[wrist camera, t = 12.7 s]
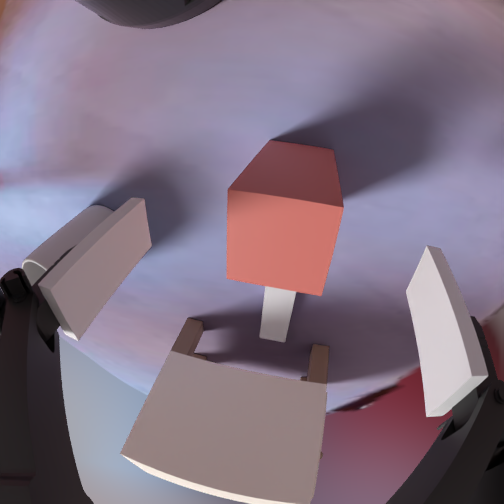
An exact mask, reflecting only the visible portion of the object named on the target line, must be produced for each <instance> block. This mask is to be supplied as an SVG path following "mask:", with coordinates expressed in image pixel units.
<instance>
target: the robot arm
mask: <svg viewBox="0 0 504 504" xmlns="http://www.w3.org/2000/svg"><path fill="white" fill-rule="evenodd" d="M75 1H77V2H78V3H80V4H82V5H83V6H85V7H86V8H88V9H90V10H91V11H93V12H95V13H96V14H98V15H99V16H100V17H101V18H102V19H104V20H106V21H108V22H110V23H113V24H116V25H120V26H126V27H133V28H141V29H153V28H161V27H166V26H170V25H174V24H177V23H180V22H183V21H186V20H188V19H190V18H193V17H195V16H197V15H199V14H201V13H202V12H204V11H206V10H208V9H209V8H211V7H212V6H214V5H215V4H217V3H218V2H219V1H221V0H75ZM151 246H152V244H151V238H150V232H149V226H148V220H147V213H146V207H145V200H144V199H142V198H133V197H131V198H130V199H129V200H128V201H127V202H125V203H124V204H123V205H122V206H120V207H119V208H118V209H117V210H116V211H114V212H113V213H112V214H111V215H110V216H109V217H107V218H106V219H105V220H104V221H103V222H102V223H101V224H99V225H98V226H97V227H96V228H95V229H94V230H93V231H92V232H90V233H89V234H88V235H87V236H86V237H85V238H84V239H83V240H82V241H81V242H80V243H79V244H77V245H76V246H74V247H72V248H70V249H69V250H67V251H66V252H65V253H64V254H63V255H62V256H61V257H60V259H58V260H57V261H56V262H55V263H54V265H52V266H51V267H50V268H49V269H48V270H47V271H46V272H45V273H44V274H43V275H42V276H41V277H40V278H39V279H38V280H37V281H36V282H35V283H34V285H33V286H31V284H30V282H29V280H28V278H27V276H26V273H25V271H24V270H23V269H21V268H15V269H12V270H10V271H8V272H7V273H6V274H4V276H3V277H2V278H1V279H0V287H1V288H0V504H94V503H93V502H92V501H91V499H90V498H89V497H88V496H87V495H86V493H85V492H84V490H83V487H82V485H81V481H80V478H79V474H78V470H77V467H76V463H75V459H74V455H73V451H72V446H71V441H70V437H69V431H68V426H67V419H66V414H65V407H64V399H63V391H62V380H61V368H60V350H59V334H58V332H57V329H58V327H59V326H61V328H62V329H63V331H64V333H65V334H66V335H67V336H69V337H71V338H73V339H75V340H77V341H79V340H80V338H81V337H82V335H83V334H84V333H85V331H86V330H87V328H88V327H89V326H90V324H91V323H92V322H93V320H94V319H95V317H96V316H97V315H98V313H99V312H100V311H101V309H102V308H103V307H104V305H105V304H106V303H107V301H108V300H109V299H110V297H111V296H112V295H113V293H114V292H115V291H116V290H117V288H118V287H119V286H120V284H121V283H122V282H123V281H124V279H125V278H126V277H127V276H128V274H129V273H130V272H131V271H132V269H133V268H134V267H135V266H136V264H137V263H138V262H139V261H140V260H141V258H142V257H143V256H144V255H145V254H146V252H147V251H148V250H149V249H150V248H151ZM1 289H2V290H1ZM2 291H3V292H2ZM3 293H4V294H3ZM406 295H407V299H408V303H409V307H410V312H411V316H412V321H413V325H414V330H415V336H416V341H417V346H418V352H419V358H420V365H421V372H422V379H423V387H424V395H425V407H426V417H429V416H443V415H444V414H446V413H447V412H448V411H449V410H450V409H452V412H453V416H452V417H450V418H449V419H448V420H446V421H445V422H444V423H442V424H441V425H440V426H439V427H438V428H437V429H438V430H439V429H441V428H442V427H444V428H443V429H442V431H441V432H440V434H439V436H438V437H437V439H436V440H435V442H434V443H433V445H432V446H431V448H430V449H429V451H428V452H427V453H426V455H425V456H424V458H423V459H422V460H421V462H420V463H419V464H418V466H417V467H416V468H415V470H414V471H413V473H412V474H411V475H410V476H409V477H408V479H407V480H406V481H405V482H404V483H403V485H402V486H401V487H400V488H399V489H398V490H397V492H396V493H395V494H394V495H393V496H392V497H391V498H390V500H389V501H388V502H387V503H386V504H504V382H503V381H501V380H498V378H497V375H496V371H495V367H494V364H493V360H492V357H491V354H490V351H489V349H488V345H487V341H486V340H485V335H484V333H483V330H482V327H481V325H480V324H479V323H478V321H477V320H476V318H475V317H473V316H470V315H469V312H468V309H467V307H466V304H465V302H464V299H463V297H462V294H461V292H460V290H459V287H458V285H457V283H456V280H455V278H454V276H453V274H452V271H451V269H450V267H449V265H448V263H447V261H446V259H445V257H444V255H443V253H442V251H441V249H440V248H436V247H432V246H426V249H425V251H424V253H423V256H422V258H421V260H420V262H419V265H418V267H417V269H416V271H415V273H414V275H413V278H412V280H411V282H410V284H409V286H408V288H407V290H406Z"/></svg>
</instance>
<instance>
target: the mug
mask: <svg viewBox="0 0 504 504" xmlns="http://www.w3.org/2000/svg"><path fill="white" fill-rule="evenodd" d="M113 212H114V211H112V210H111V209H109V208H107V207H104V206H100V205H94V206H90V207H88V208H86V209H85V210H83V211H82V212H81V213H79V214H78V215H77V216H76V217H75V218H73V219H72V220H71V221H70V222H68V223H67V224H66V225H64V226H63V227H62V228H61V229H59V230H58V231H57V232H56V233H54V234H53V235H52V236H51V237H50V238H48V239H47V240H46V241H45V242H44V243H42V244H41V245H40V246H39V247H38V248H37V249H35V250H34V251H33V252H32V253H31V254H30V255H29V256H28V257H27V258H26V259H25V260H24V261H23V264H22V269H23V270H24V271H25V273H26V276H27V278H28V280H29V282H30V284H31V286H33V285H34V283H35V282H36V281H37V280H38V279H39V278H40V277H41V276H42V275H43V274H44V273H45V272H46V271H47V270H48V269H49V268H50V267H51V266H52V265H54V263H55V262H56V261H57V260H58V259H60V257H61V256H62V255H63V254H64V253H65V252H66V251H67V250H69V249H70V248H72V247H74V246H76V245H77V244H79V243H80V242H81V241H82V240H83V239H84V238H85V237H86V236H87V235H88V234H89V233H90V232H92V231H93V230H94V229H95V228H96V227H97V226H98V225H99V224H101V223H102V222H103V221H104V220H105V219H106V218H107V217H109V216H110V215H111V214H112V213H113Z"/></svg>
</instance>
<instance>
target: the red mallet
mask: <svg viewBox="0 0 504 504" xmlns="http://www.w3.org/2000/svg"><path fill="white" fill-rule="evenodd" d="M343 209H344V206H343V199H342V193H341V187H340V181H339V176H338V170H337V165H336V160H335V155H334V150H333V149H327V148H321V147H315V146H309V145H303V144H296V143H289V142H281V141H273V140H269V142H268V143H267V144H266V145H265V146H264V147H263V148H262V150H261V151H260V152H259V153H258V154H257V155H256V156H255V158H254V159H253V160H252V161H251V162H250V163H249V165H248V166H247V167H246V168H245V169H244V171H243V172H242V173H241V174H240V175H239V177H238V178H237V179H236V180H235V181H234V183H233V184H232V185H231V186H230V187H229V189H228V203H227V279H231V280H236V281H241V282H246V283H252V284H257V285H262V286H265V294H264V303H263V311H262V320H261V328H260V336H259V338H264V339H269V340H274V341H279V342H285V340H286V336H287V331H288V327H289V322H290V318H291V313H292V309H293V304H294V300H295V295H296V292H301V293H306V294H312V295H318V296H321V295H322V292H323V288H324V285H325V281H326V278H327V274H328V270H329V266H330V263H331V259H332V255H333V251H334V247H335V243H336V239H337V235H338V231H339V226H340V222H341V218H342V213H343Z"/></svg>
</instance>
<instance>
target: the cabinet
mask: <svg viewBox="0 0 504 504" xmlns="http://www.w3.org/2000/svg"><path fill="white" fill-rule="evenodd" d="M202 334H203V322H202V321H198V320H194V319H190V318H187V320H186V322H185V324H184V326H183V328H182V330H181V332H180V334H179V336H178V338H177V340H176V342H175V343H174V345H173V347H172V349H171V351H170V353H169V355H168V357H167V359H166V361H165V363H164V365H163V367H162V369H161V371H160V373H159V375H158V377H157V379H156V381H155V383H154V385H153V387H152V389H151V391H150V393H149V395H148V397H147V399H146V401H145V403H144V405H143V407H142V409H141V411H140V413H139V415H138V417H137V420H136V421H135V423H134V426H133V428H132V430H131V432H130V434H129V436H128V438H127V440H126V442H125V444H124V446H123V448H122V451H121V453H120V454H121V455H123V456H124V457H125V458H127V459H128V460H129V461H131V462H132V463H134V464H135V465H137V466H138V467H139V468H141V469H142V470H144V471H146V472H147V473H150V474H152V475H154V476H157V477H160V478H162V479H165V480H167V481H170V482H173V483H176V484H179V485H181V486H184V487H188V488H191V489H194V490H197V491H201V492H204V493H207V494H211V495H215V496H219V497H223V498H227V499H231V500H235V501H240V502H245V503H250V504H310V503H311V499H312V498H313V496H314V490H315V485H316V479H317V473H318V467H319V460H320V459H321V458H322V456H323V453H322V452H321V446H322V439H323V430H324V422H325V412H326V402H327V392H326V386H327V374H328V359H329V346H323V345H317V344H313V347H312V349H311V352H310V358H309V366H308V374H307V378H306V377H301V379H300V380H294V379H288V378H283V377H277V376H272V375H267V374H262V373H257V372H252V371H247V370H243V369H238V368H234V367H230V366H226V365H222V364H218V363H214V362H210V361H207V358H206V357H205V356H201V355H198V354H194V351H195V349H196V347H197V345H198V342H199V340H200V338H201V336H202Z"/></svg>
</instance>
